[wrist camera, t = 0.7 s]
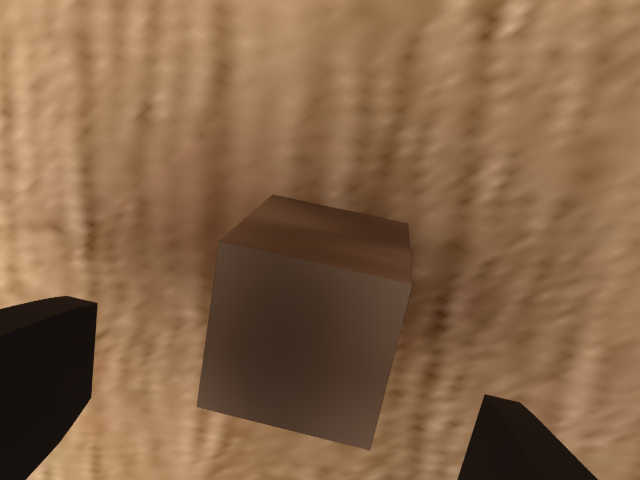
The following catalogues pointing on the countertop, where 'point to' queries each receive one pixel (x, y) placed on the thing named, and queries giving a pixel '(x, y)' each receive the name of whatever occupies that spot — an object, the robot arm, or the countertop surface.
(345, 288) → the walnut block
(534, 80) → the countertop surface
